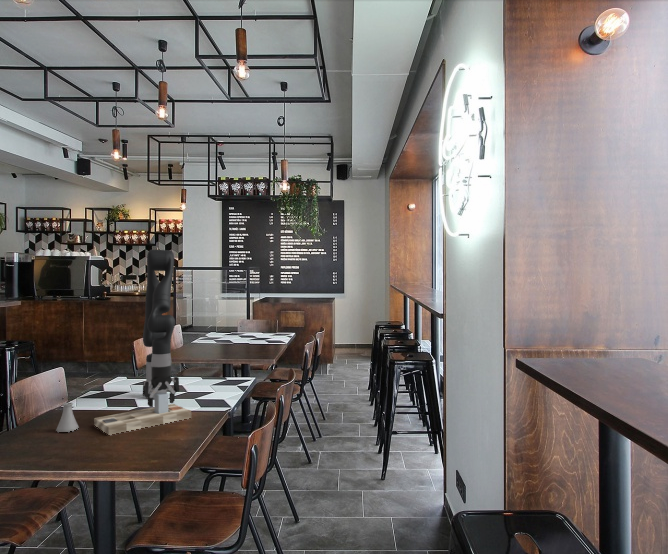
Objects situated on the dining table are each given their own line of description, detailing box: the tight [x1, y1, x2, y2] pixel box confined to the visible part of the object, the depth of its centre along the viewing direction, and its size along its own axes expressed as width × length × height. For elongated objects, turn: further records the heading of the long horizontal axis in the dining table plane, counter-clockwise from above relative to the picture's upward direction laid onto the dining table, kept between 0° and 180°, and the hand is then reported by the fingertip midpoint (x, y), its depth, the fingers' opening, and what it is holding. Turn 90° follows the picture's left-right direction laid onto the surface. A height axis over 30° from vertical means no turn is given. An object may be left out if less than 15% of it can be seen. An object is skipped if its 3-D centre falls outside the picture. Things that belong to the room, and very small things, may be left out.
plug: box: [153, 392, 169, 414], centre depth 199 cm, size 4×4×10 cm
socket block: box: [93, 403, 192, 436], centre depth 194 cm, size 16×32×3 cm, turn 133°
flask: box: [55, 402, 80, 433], centre depth 184 cm, size 7×7×10 cm
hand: (161, 404), depth 199 cm, fingers open, 8 cm apart
